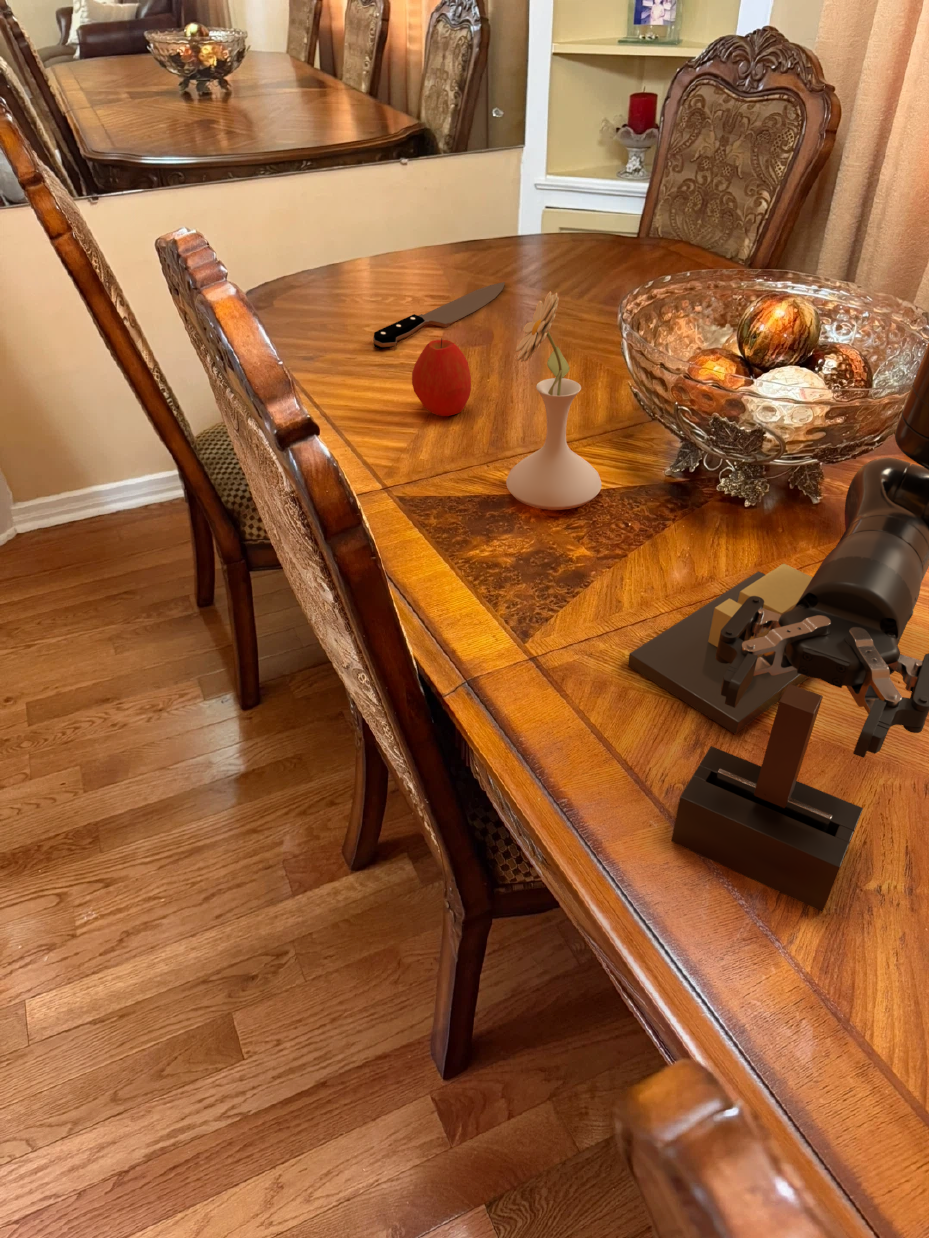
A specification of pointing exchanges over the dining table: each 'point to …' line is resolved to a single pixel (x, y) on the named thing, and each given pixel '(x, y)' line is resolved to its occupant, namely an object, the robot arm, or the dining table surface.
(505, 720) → the dining table surface
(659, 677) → the board
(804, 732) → the knife
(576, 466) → the flower in vase
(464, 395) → the apple
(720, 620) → the block
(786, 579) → the butter block
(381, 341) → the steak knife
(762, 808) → the knife stand
